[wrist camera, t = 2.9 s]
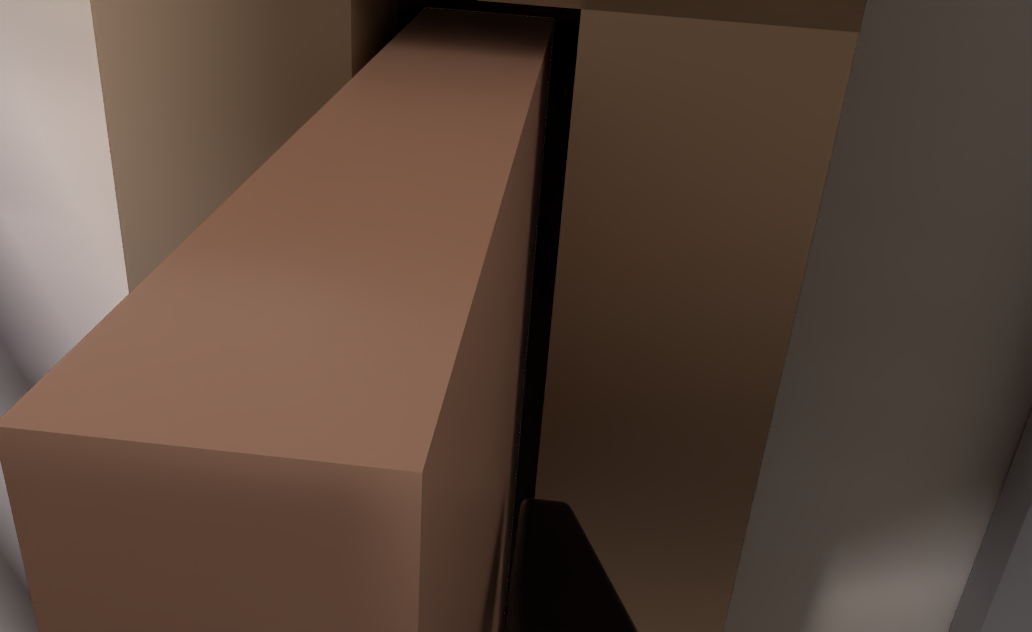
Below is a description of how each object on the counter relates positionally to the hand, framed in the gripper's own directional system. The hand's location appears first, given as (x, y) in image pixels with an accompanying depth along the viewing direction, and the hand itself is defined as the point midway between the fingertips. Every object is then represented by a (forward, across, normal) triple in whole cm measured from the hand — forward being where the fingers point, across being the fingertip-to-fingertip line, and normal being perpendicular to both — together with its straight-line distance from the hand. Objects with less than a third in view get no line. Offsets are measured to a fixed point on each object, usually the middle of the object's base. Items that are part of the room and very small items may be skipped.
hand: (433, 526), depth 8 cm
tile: (+2, 0, 0) cm, 2 cm away
